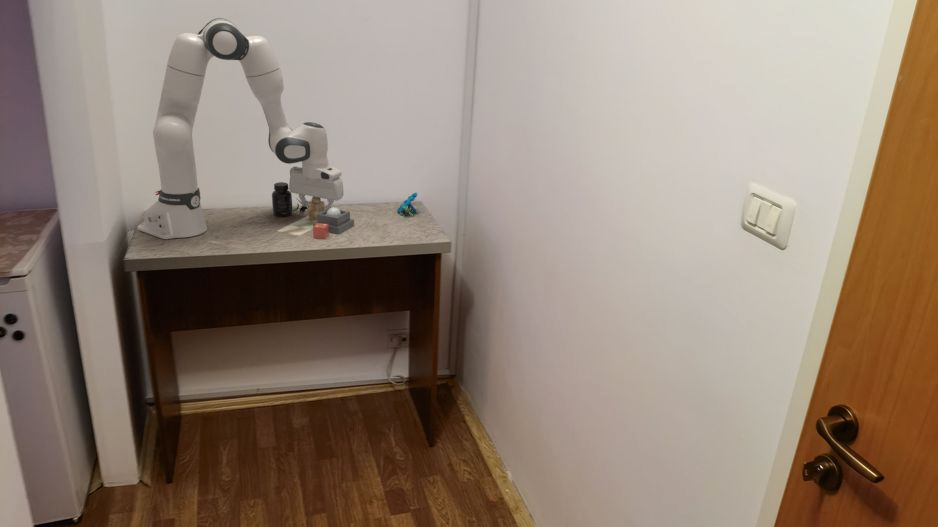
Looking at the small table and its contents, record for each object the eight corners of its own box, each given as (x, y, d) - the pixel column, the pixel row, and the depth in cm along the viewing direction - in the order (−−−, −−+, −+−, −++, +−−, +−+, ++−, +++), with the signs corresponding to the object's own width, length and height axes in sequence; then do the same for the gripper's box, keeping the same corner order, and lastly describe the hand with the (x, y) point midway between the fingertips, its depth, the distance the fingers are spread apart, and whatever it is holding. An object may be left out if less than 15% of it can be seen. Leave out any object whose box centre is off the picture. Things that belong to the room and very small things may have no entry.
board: (275, 233, 239) (275, 230, 239) (310, 215, 257) (310, 213, 257) (326, 243, 233) (326, 241, 232) (359, 224, 251) (359, 222, 250)
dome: (323, 222, 242) (322, 208, 241) (331, 217, 247) (331, 204, 245) (336, 224, 241) (336, 211, 239) (344, 220, 245) (344, 206, 243)
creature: (312, 220, 256) (316, 208, 263) (311, 207, 253) (315, 196, 260) (290, 219, 256) (295, 207, 263) (289, 206, 253) (293, 195, 260)
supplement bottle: (271, 214, 257) (269, 181, 252) (290, 212, 259) (289, 180, 255) (274, 220, 251) (272, 187, 246) (294, 218, 253) (292, 186, 249)
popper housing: (313, 231, 242) (312, 214, 240) (329, 222, 251) (328, 206, 249) (338, 236, 239) (338, 219, 237) (354, 227, 248) (353, 211, 245)
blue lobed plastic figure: (399, 202, 271) (417, 187, 266) (410, 213, 272) (428, 198, 268) (392, 215, 261) (411, 199, 257) (403, 226, 263) (422, 211, 259)
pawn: (308, 219, 251) (307, 196, 248) (315, 215, 255) (314, 193, 251) (318, 221, 250) (317, 197, 247) (324, 217, 253) (324, 194, 250)
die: (313, 238, 235) (313, 226, 233) (317, 234, 238) (316, 222, 237) (325, 239, 234) (324, 227, 233) (328, 235, 238) (328, 223, 236)
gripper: (284, 167, 246) (286, 205, 251) (335, 176, 239) (336, 215, 245) (295, 163, 252) (296, 201, 257) (345, 172, 245) (346, 210, 250)
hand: (316, 208), depth 251 cm, fingers open, 8 cm apart
